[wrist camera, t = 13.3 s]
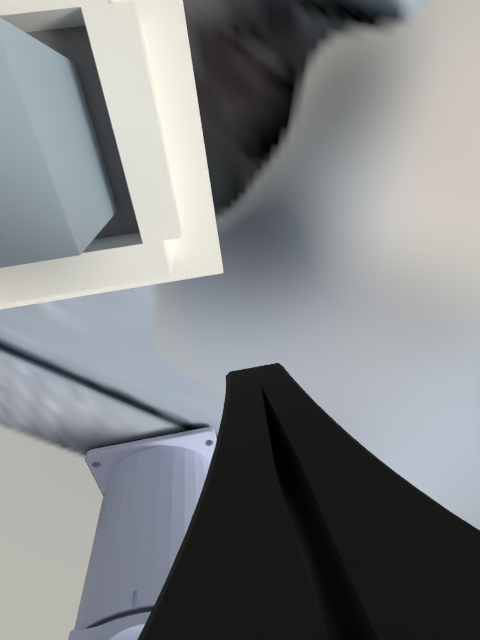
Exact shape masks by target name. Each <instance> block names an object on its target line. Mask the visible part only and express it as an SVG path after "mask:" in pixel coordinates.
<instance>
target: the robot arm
mask: <svg viewBox="0 0 480 640" xmlns="http://www.w3.org/2000/svg"><path fill="white" fill-rule="evenodd" d="M207 440H210V441H207ZM85 461H86V463H87V465H88V467H89V469H90V470H91V473H92V475H93V477H94V478H95V480H96V482H97V484H98V486H99V488H100V490H101V492H102V494H103V496H104V497H103V502H102V506H101V511H100V515H99V520H98V525H97V529H96V533H95V538H94V542H93V547H92V552H91V556H90V560H89V566H88V569H87V574H86V579H85V583H84V588H83V592H82V597H81V601H80V606H79V610H78V615H77V619H76V624H75V628H74V630H72V631H71V632H70V635H69V639H68V640H480V530H478V529H477V528H475V527H473V526H472V525H470V524H469V523H467V522H466V521H464V520H462V519H461V518H459V517H458V516H456V515H455V514H453V513H451V512H450V511H449V510H447V509H446V508H444V507H443V506H441V505H440V504H438V503H437V502H436V501H434V500H433V499H431V498H430V497H429V496H427V495H426V494H424V493H423V492H421V491H420V490H419V489H417V488H416V487H414V486H413V485H412V484H410V483H409V482H408V481H407V480H405V479H404V478H402V477H401V476H400V475H398V474H397V473H396V472H394V471H393V470H392V469H391V468H389V467H388V466H387V465H385V464H384V463H383V462H382V461H380V460H379V459H378V458H377V457H375V456H374V455H373V454H372V453H371V452H369V451H368V450H367V449H366V448H365V447H363V446H362V445H361V444H360V443H359V442H358V441H356V440H355V439H354V438H353V437H352V436H351V435H349V434H348V433H347V432H346V431H345V430H344V429H343V428H342V427H341V426H339V425H338V424H337V423H336V422H335V421H334V420H333V419H332V418H331V417H330V416H329V415H328V414H327V413H326V412H325V411H324V410H323V409H322V408H321V407H320V406H318V405H317V404H316V402H314V400H312V398H310V396H309V395H308V394H307V393H306V392H305V391H304V390H303V389H302V388H301V387H300V386H299V385H298V384H297V382H296V381H295V380H294V379H293V378H292V377H291V376H290V375H289V373H288V372H287V371H286V370H285V369H284V367H283V366H282V365H280V364H279V363H275V364H270V365H264V366H259V367H253V368H248V369H242V370H237V371H232V372H229V373H228V374H227V375H226V395H225V403H224V409H223V415H222V419H221V424H220V428H219V433H218V437H217V438H216V433H215V430H214V429H212V428H210V427H206V428H201V429H196V430H190V431H185V432H180V433H175V434H169V435H164V436H159V437H154V438H149V439H143V440H138V441H133V442H128V443H122V444H117V445H112V446H107V447H102V448H96V449H92V450H89V451H88V452H87V453H86V456H85Z"/></svg>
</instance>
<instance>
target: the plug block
mask: <svg viewBox="0 0 480 640" xmlns="http://www.w3.org/2000/svg"><path fill="white" fill-rule="evenodd" d="M117 211H118V209H117V206H116V202H115V199H114V195H113V192H112V188H111V185H110V182H109V178H108V175H107V171H106V168H105V164H104V161H103V157H102V154H101V151H100V147H99V144H98V140H97V137H96V133H95V130H94V126H93V123H92V120H91V116H90V113H89V109H88V106H87V102H86V99H85V95H84V92H83V89H82V85H81V82H80V78H79V75H78V71H77V68H76V64H75V63H74V62H73V61H71V60H69V59H68V58H66V57H64V56H63V55H61V54H60V53H58V52H56V51H55V50H53V49H51V48H50V47H48V46H47V45H45V44H43V43H42V42H40V41H38V40H37V39H35V38H33V37H32V36H30V35H29V34H27V33H25V32H24V31H22V30H20V29H19V28H17V27H16V26H14V25H12V24H11V23H9V22H7V21H6V20H4V19H3V18H1V17H0V268H4V267H10V266H16V265H22V264H28V263H35V262H41V261H47V260H53V259H60V258H66V257H72V256H78V255H81V253H82V252H83V251H84V250H85V249H86V248H87V246H88V245H89V244H90V243H91V242H92V240H93V239H94V238H95V237H96V236H97V234H98V233H99V232H100V231H101V230H102V228H103V227H104V226H105V225H106V224H107V222H108V221H109V220H110V219H111V218H112V216H113V215H114V214H115V213H116V212H117Z"/></svg>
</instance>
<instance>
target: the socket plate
mask: <svg viewBox="0 0 480 640" xmlns="http://www.w3.org/2000/svg"><path fill="white" fill-rule="evenodd" d="M0 17H1V18H3V19H4V20H6V21H7V22H9V23H11V24H12V25H14V26H16V27H17V28H19V29H20V30H22V31H24V32H25V33H27V34H29V35H30V36H32V37H33V38H35V39H37V40H38V41H40V42H42V43H43V44H45V45H47V46H48V47H50V48H51V49H53V50H55V51H56V52H58V53H60V54H61V55H63V56H64V57H66V58H68V59H69V60H71V61H73V62H74V63H75V64H76V68H77V71H78V75H79V78H80V82H81V85H82V89H83V92H84V95H85V99H86V102H87V106H88V109H89V113H90V116H91V120H92V123H93V126H94V130H95V133H96V137H97V140H98V144H99V147H100V151H101V154H102V157H103V161H104V164H105V168H106V171H107V175H108V178H109V182H110V185H111V188H112V192H113V195H114V199H115V202H116V206H117V209H118V211H117V212H116V213H115V214H114V215H113V216H112V218H111V219H110V220H109V221H108V222H107V224H106V225H105V226H104V227H103V228H102V230H101V231H100V232H99V233H98V234H97V236H96V237H95V238H94V239H93V240H92V242H91V243H90V244H89V245H88V246H87V248H86V249H85V250H84V251H83V252H82V253H81V255H78V256H72V257H66V258H60V259H53V260H47V261H41V262H35V263H28V264H22V265H16V266H10V267H4V268H0V309H5V308H11V307H18V306H24V305H30V304H36V303H42V302H48V301H54V300H61V299H67V298H73V297H79V296H85V295H91V294H97V293H104V292H110V291H116V290H122V289H128V288H134V287H140V286H147V285H153V284H159V283H165V282H171V281H177V280H183V279H189V278H196V277H201V276H208V275H214V274H220V273H223V266H222V259H221V253H220V246H219V239H218V233H217V226H216V220H215V213H214V206H213V200H212V193H211V186H210V180H209V173H208V166H207V160H206V153H205V146H204V140H203V133H202V126H201V120H200V113H199V106H198V100H197V93H196V86H195V80H194V73H193V67H192V60H191V53H190V47H189V40H188V33H187V27H186V20H185V13H184V7H183V0H0Z"/></svg>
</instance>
